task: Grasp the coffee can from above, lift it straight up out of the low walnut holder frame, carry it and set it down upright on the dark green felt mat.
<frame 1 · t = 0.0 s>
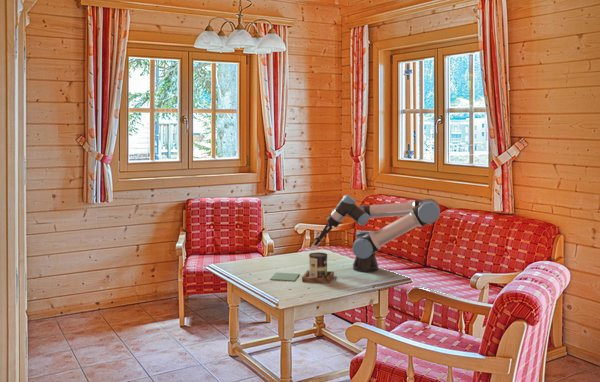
hand: (314, 246, 344), 15 cm above the table, tool tilted 35°, fingers open, 13 cm apart
holder: (318, 278, 332), on the table
mat: (285, 277, 335), on the table
coffee can: (318, 279, 332), resting in holder
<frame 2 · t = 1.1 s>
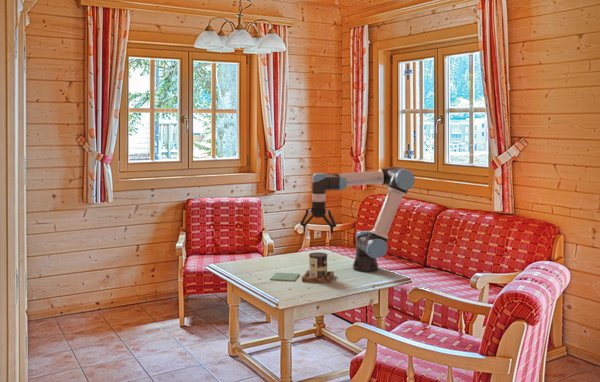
hand: (318, 238, 329), 23 cm above the table, tool pointing down, fingers open, 13 cm apart
nothing on the table moved.
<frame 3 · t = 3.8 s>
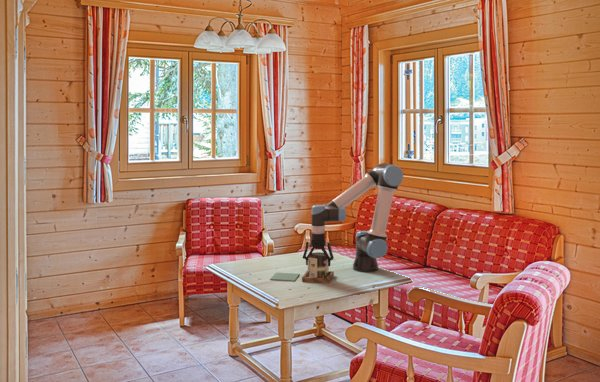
hand: (318, 271, 331), 4 cm above the table, tool pointing down, fingers closed on coffee can, 10 cm apart
coffee can: (318, 279, 332), resting in holder, touching gripper
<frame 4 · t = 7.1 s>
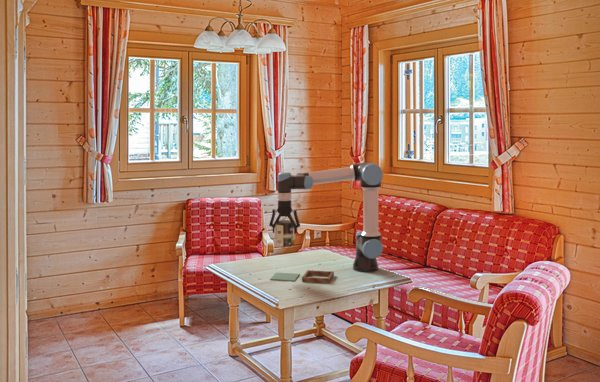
hand: (284, 238, 332), 22 cm above the table, tool pointing down, fingers closed on coffee can, 10 cm apart
coffee can: (284, 246, 332), point 18 cm above the table, touching gripper
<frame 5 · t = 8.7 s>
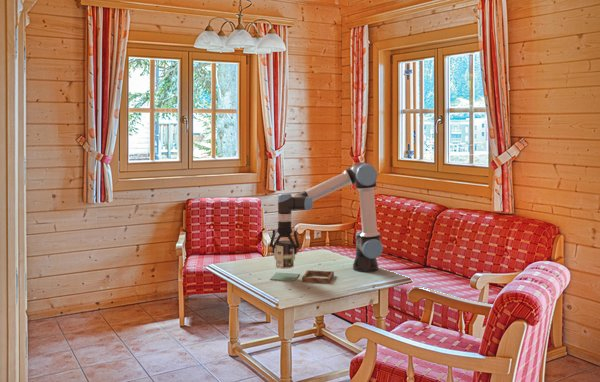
hand: (284, 259, 333), 11 cm above the table, tool pointing down, fingers closed on coffee can, 10 cm apart
coffee can: (284, 266, 334), point 6 cm above the table, touching gripper
when the fingers open (7 cm above the table, at t = 10.3 s): coffee can drops 2 cm, resting on mat.
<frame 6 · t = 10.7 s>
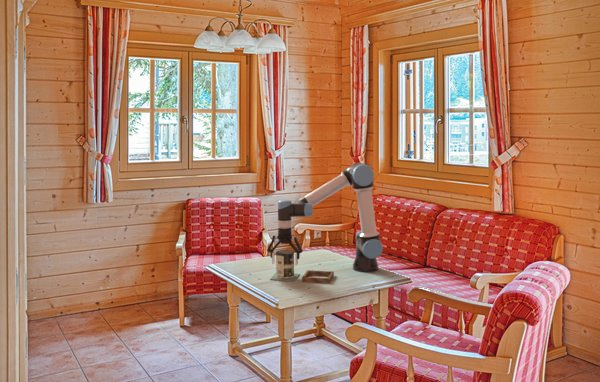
hand: (284, 264, 334), 8 cm above the table, tool pointing down, fingers open, 13 cm apart
coffee can: (285, 276, 335), resting on mat
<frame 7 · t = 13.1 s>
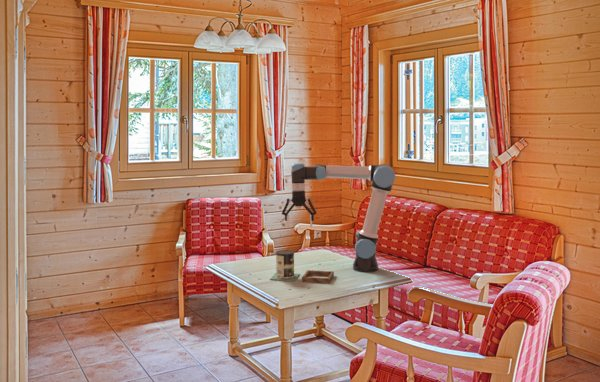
hand: (299, 226, 341), 28 cm above the table, tool pointing down, fingers open, 13 cm apart
nothing on the table moved.
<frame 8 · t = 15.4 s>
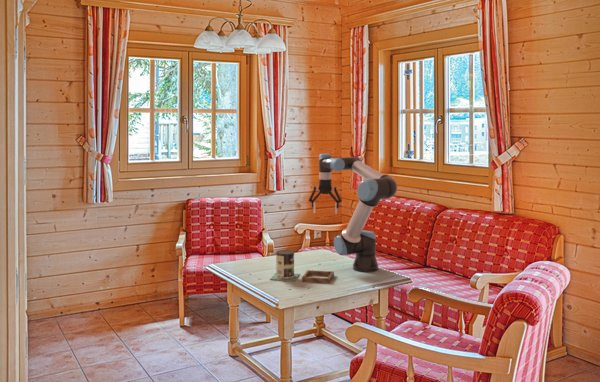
hand: (325, 213, 362), 32 cm above the table, tool pointing down, fingers open, 13 cm apart
nothing on the table moved.
at the end: coffee can 0.1 cm from the mat (horizontally); coffee can tilted 0°; coffee can touching mat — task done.
